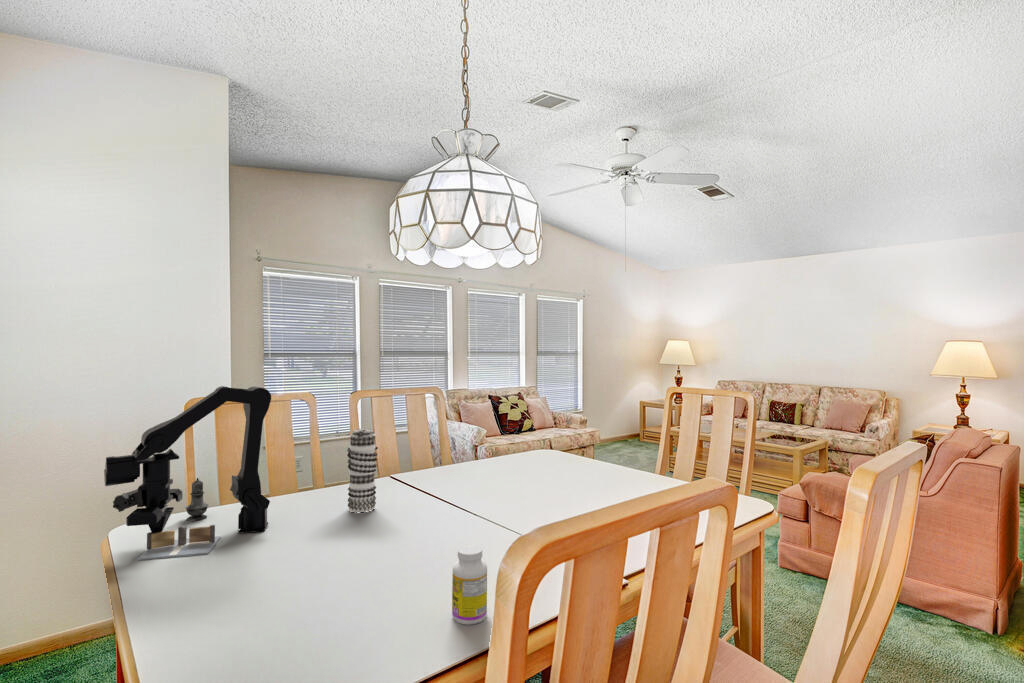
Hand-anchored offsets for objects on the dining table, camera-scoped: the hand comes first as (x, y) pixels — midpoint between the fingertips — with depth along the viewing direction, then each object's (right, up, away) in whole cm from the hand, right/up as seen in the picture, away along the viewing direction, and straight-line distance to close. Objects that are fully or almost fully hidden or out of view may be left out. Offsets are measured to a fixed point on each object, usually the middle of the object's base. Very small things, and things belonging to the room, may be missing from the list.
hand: (156, 539), depth 130 cm
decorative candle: (+42, -3, +33) cm, 54 cm away
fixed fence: (+9, -2, +2) cm, 9 cm away
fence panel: (+2, -1, -1) cm, 2 cm away
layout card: (+6, -2, 0) cm, 7 cm away
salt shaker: (-4, -3, +23) cm, 23 cm away
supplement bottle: (+82, -3, -32) cm, 88 cm away
